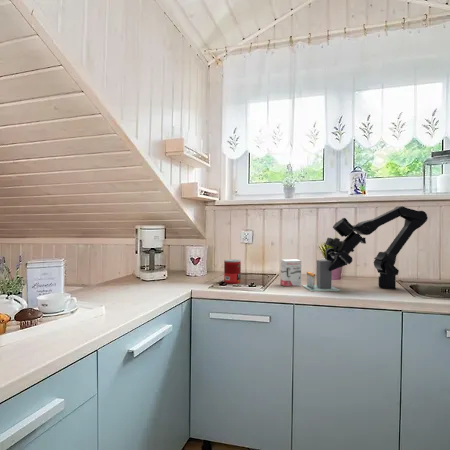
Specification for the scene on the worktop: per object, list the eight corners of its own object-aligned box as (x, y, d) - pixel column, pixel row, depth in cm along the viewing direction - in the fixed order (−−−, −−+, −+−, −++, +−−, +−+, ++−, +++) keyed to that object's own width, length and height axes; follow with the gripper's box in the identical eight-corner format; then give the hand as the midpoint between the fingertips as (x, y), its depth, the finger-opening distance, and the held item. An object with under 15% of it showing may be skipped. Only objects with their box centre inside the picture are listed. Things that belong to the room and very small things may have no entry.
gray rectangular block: (327, 286, 159) (327, 258, 159) (331, 288, 154) (331, 259, 154) (316, 286, 159) (316, 258, 159) (320, 288, 154) (320, 259, 154)
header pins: (310, 286, 160) (310, 271, 160) (315, 289, 152) (315, 274, 152) (306, 286, 160) (306, 271, 160) (311, 289, 152) (311, 274, 152)
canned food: (240, 284, 167) (240, 260, 167) (224, 283, 167) (224, 260, 167) (240, 281, 175) (240, 259, 175) (224, 281, 175) (224, 259, 175)
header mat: (329, 285, 163) (329, 284, 163) (340, 290, 150) (340, 290, 150) (302, 285, 162) (302, 285, 162) (310, 291, 150) (310, 290, 150)
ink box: (284, 286, 161) (284, 260, 161) (280, 284, 165) (280, 259, 165) (301, 285, 163) (302, 260, 163) (296, 284, 168) (296, 259, 168)
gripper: (329, 231, 166) (306, 254, 165) (344, 231, 147) (319, 258, 147) (345, 247, 167) (322, 271, 166) (363, 250, 148) (338, 277, 147)
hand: (325, 269), depth 156 cm, fingers open, 9 cm apart
